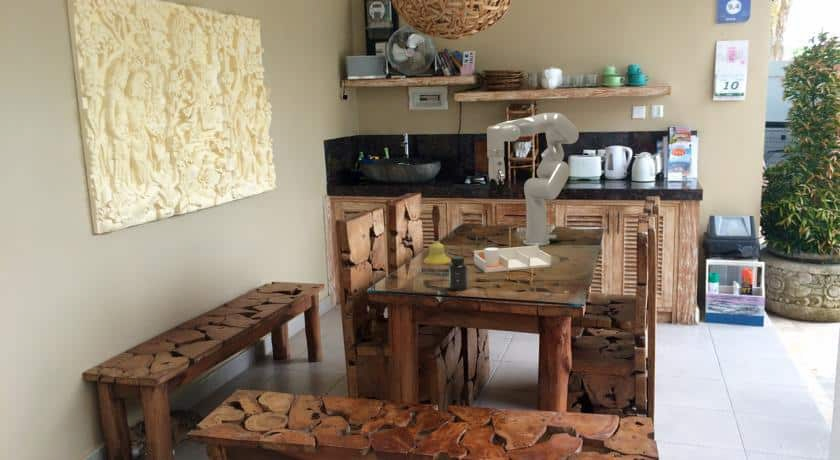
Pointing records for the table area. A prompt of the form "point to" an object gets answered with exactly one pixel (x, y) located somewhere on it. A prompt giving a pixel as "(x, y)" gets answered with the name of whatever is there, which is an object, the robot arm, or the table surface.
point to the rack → (515, 259)
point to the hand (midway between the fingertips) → (496, 191)
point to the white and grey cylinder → (492, 256)
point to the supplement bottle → (458, 274)
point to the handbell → (436, 242)
